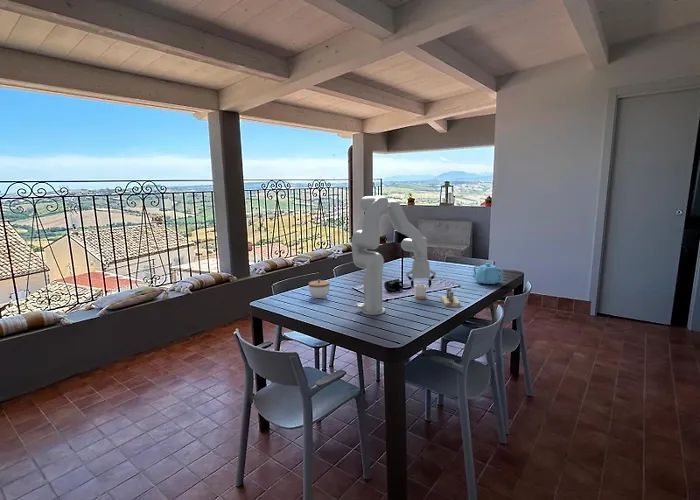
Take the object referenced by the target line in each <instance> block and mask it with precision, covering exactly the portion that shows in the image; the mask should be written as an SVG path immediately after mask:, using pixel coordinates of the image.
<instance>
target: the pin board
mask: <svg viewBox="0 0 700 500" xmlns="http://www.w3.org/2000/svg"><path fill="white" fill-rule="evenodd" d="M440 301H441V304H442V305H443V306H444V308H445V307H446V308H448V307H449V308H451V307H457V308H459V307H461V302H460V301H459V299H458V298H457V296H455V293H454V291H452V288H450V287H449V288H446V295H440Z"/></svg>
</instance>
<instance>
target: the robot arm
mask: <svg viewBox="0 0 700 500" xmlns="http://www.w3.org/2000/svg"><path fill="white" fill-rule="evenodd" d="M359 208H360V210H361V211H362V212H364V215H363V217H362V220H361V223H362V224H361V225H362V226H361V227H362V228H361V229H358V230H356V231H354V233H353V235H352V237H351V249H352V251H351V252H352V253H351V254H352V262H353V264H354V265H355V266H356V267H358V268H360V269H364V270H365V272H364V276H363V302H362V303H355V308H357V309H361V313H362V314H365V315H367V316H378V315H382V314H384V313H386V308H385V307H383V269H384V264H385V259H384V256H383V255H382V254H381V253H380V252H377V251H372V250H376V249H378V248H379V246H380V241H381V240H380V238H381V237H380V236H381V235H380V220H381V217H382V216H383V217H385V216H387V217H388V219H389V221H390V223H391V225H392V227H393V229H394V230H395V231H396V232H398V233H400V234H401V235H404V236H405V237H407V238H403V240H402V241H401V242H400V247H401V249H402V250H403V251H405V252H411V253H412V252H413V256H411V259H412V264H411V270H410V271H408V272H406V273H405V276H406V277H407V279H408V280H409V281H410V286H411V287H412V288H414V289H415V284H414V279H428V281H427V282H428V287H429V288H431V286H432V280H433V279H434V278H435V277H436V274H437V272H436V271H433V270H431V267H430V260H429V259H428V239H427V238H426V237H425V236H423V234H422V233H421V232H420V230H419V229H418V228H417V227H415V226H414V225H413V224H412V223H411V222H409V220H408V218H407V217H406V214H405V212H404V210H403V208H402V206H401V204H400V203H399V201H397V200H396V199H389V198H387V197H386V196H383V195H367V196H363V197H362V198H361V199H360V200H359ZM370 250H371V251H370ZM431 274H432V275H431ZM410 275H411V276H410Z"/></svg>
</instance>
